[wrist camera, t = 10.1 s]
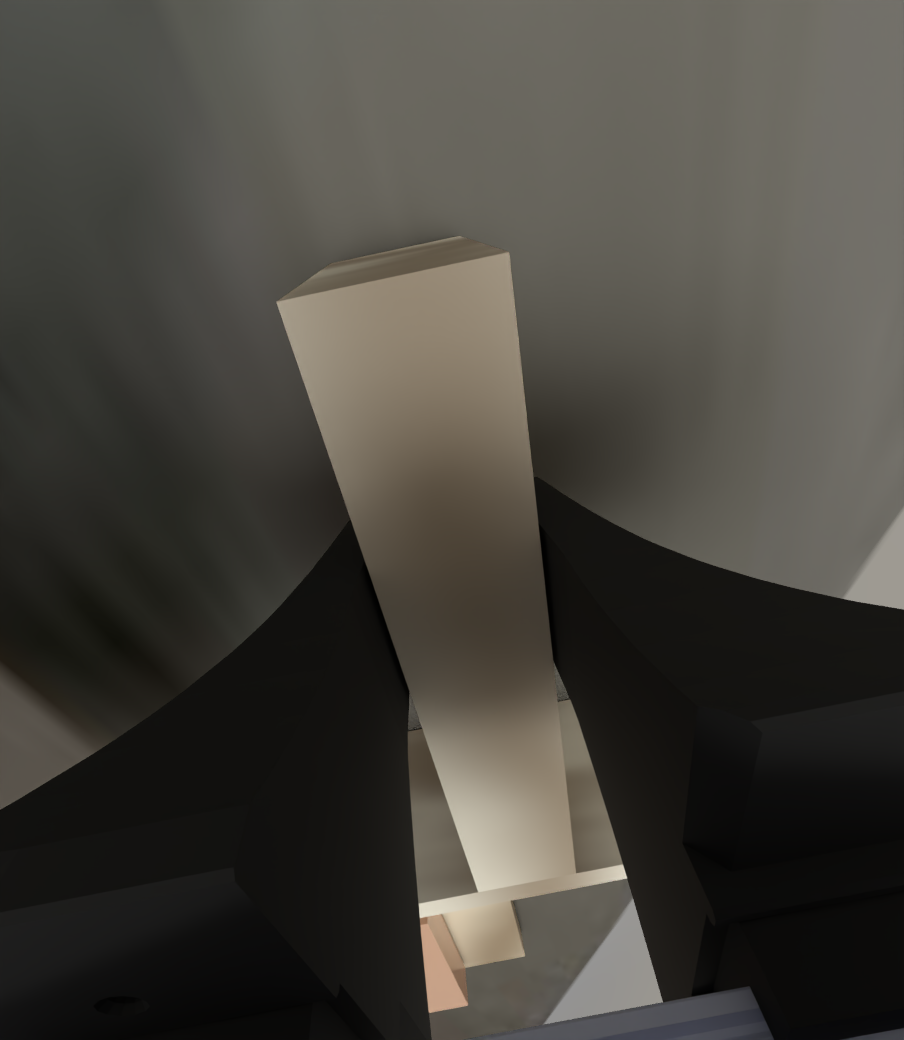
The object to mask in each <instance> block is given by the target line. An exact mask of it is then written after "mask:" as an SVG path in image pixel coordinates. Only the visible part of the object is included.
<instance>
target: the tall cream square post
mask: <svg viewBox="0 0 904 1040" xmlns="http://www.w3.org/2000/svg"><path fill="white" fill-rule="evenodd" d="M276 303H277V305H278V308H279V311H280V314H281V317H282V320H283V323H284V326H285V329H286V332H287V335H288V338H289V341H290V343H291V346H292V349H293V352H294V355H295V358H296V361H297V364H298V367H299V370H300V373H301V376H302V379H303V381H304V384H305V387H306V390H307V393H308V396H309V399H310V402H311V405H312V408H313V411H314V414H315V417H316V419H317V422H318V425H319V428H320V431H321V434H322V437H323V440H324V443H325V446H326V449H327V452H328V455H329V457H330V460H331V463H332V466H333V469H334V472H335V475H336V478H337V481H338V484H339V487H340V490H341V493H342V495H343V498H344V501H345V504H346V507H347V510H348V513H349V516H350V519H351V522H352V525H353V528H354V531H355V533H356V536H357V539H358V542H359V545H360V548H361V551H362V554H363V557H364V560H365V563H366V566H367V569H368V571H369V574H370V577H371V580H372V583H373V586H374V589H375V592H376V595H377V598H378V601H379V604H380V607H381V609H382V612H383V615H384V618H385V621H386V624H387V627H388V630H389V633H390V636H391V639H392V642H393V645H394V647H395V650H396V653H397V656H398V659H399V662H400V665H401V668H402V671H403V674H404V677H405V680H406V683H407V685H408V688H409V691H410V694H411V697H412V700H413V703H414V706H415V709H416V712H417V715H418V718H419V721H420V723H421V726H422V729H419V730H414V731H408V763H409V779H410V796H411V811H412V825H413V839H414V853H415V866H416V878H417V890H418V902H419V914H420V918H423V917H428V916H434V915H439V914H444V913H449V912H454V911H460V910H465V909H470V908H475V907H481V906H486V905H491V904H496V903H501V902H507V901H512V900H517V899H522V898H527V897H533V896H538V895H543V894H548V893H553V892H559V891H564V890H569V889H574V888H579V887H585V886H590V885H595V884H600V883H606V882H611V881H616V880H621V879H626V878H627V876H626V873H625V869H624V866H623V863H622V859H621V856H620V853H619V849H618V846H617V843H616V839H615V836H614V833H613V829H612V826H611V823H610V820H609V816H608V813H607V810H606V807H605V804H604V800H603V797H602V794H601V791H600V787H599V784H598V781H597V778H596V775H595V771H594V768H593V765H592V762H591V759H590V756H589V753H588V750H587V746H586V743H585V740H584V737H583V734H582V731H581V728H580V725H579V721H578V718H577V716H576V713H575V711H574V708H573V705H572V703H571V700H565V701H560V702H558V701H557V692H556V682H555V673H554V664H553V655H552V645H551V636H550V627H549V617H548V608H547V599H546V590H545V580H544V571H543V562H542V552H541V543H540V534H539V525H538V515H537V506H536V497H535V488H534V478H533V469H532V460H531V450H530V441H529V432H528V423H527V413H526V404H525V395H524V385H523V376H522V367H521V358H520V348H519V339H518V330H517V321H516V311H515V302H514V293H513V283H512V274H511V265H510V256H509V252H507V251H504V250H501V249H498V248H495V247H492V246H489V245H486V244H483V243H480V242H477V241H474V240H471V239H468V238H465V237H461V236H456V237H451V238H447V239H442V240H437V241H433V242H428V243H423V244H419V245H414V246H409V247H405V248H400V249H395V250H391V251H386V252H381V253H377V254H372V255H368V256H363V257H358V258H354V259H349V260H344V261H340V262H335V263H330V264H329V265H328V266H326V267H325V268H323V269H322V270H321V271H319V272H318V273H316V274H315V275H313V276H312V277H311V278H309V279H308V280H306V281H305V282H304V283H302V284H301V285H299V286H298V287H296V288H295V289H294V290H292V291H291V292H289V293H288V294H287V295H285V296H284V297H282V298H281V299H279V300H278V301H277V302H276Z"/></svg>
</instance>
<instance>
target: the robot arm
mask: <svg viewBox="0 0 904 1040" xmlns="http://www.w3.org/2000/svg"><path fill="white" fill-rule="evenodd" d="M534 488H535V497H536V506H537V515H538V525H539V534H540V543H541V552H542V562H543V571H544V580H545V590H546V599H547V608H548V617H549V627H550V636H551V645H552V655H553V661H554V663H555V665H556V668H557V670H558V672H559V675H560V677H561V679H562V681H563V684H564V686H565V688H566V691H567V693H568V695H569V698H570V700H571V703H572V705H573V708H574V711H575V713H576V716H577V718H578V721H579V725H580V728H581V731H582V734H583V737H584V740H585V743H586V746H587V750H588V753H589V756H590V759H591V762H592V765H593V768H594V771H595V775H596V778H597V781H598V784H599V787H600V791H601V794H602V797H603V800H604V804H605V807H606V810H607V813H608V816H609V820H610V823H611V826H612V829H613V833H614V836H615V839H616V843H617V846H618V849H619V853H620V856H621V859H622V863H623V866H624V869H625V873H626V876H627V879H628V883H629V886H630V889H631V893H632V896H633V899H634V903H635V906H636V910H637V913H638V917H639V920H640V924H641V927H642V930H643V934H644V937H645V941H646V944H647V948H648V951H649V955H650V958H651V961H652V965H653V968H654V972H655V975H656V979H657V982H658V986H659V989H660V993H661V996H662V1000H663V1003H658V1004H652V1005H647V1006H641V1007H636V1008H630V1009H625V1010H620V1011H615V1012H609V1013H604V1014H598V1015H593V1016H588V1017H582V1018H577V1019H572V1020H567V1021H561V1022H555V1023H550V1024H545V1025H539V1026H534V1027H529V1028H523V1029H518V1030H513V1031H507V1032H502V1033H497V1034H491V1035H486V1036H481V1037H475V1038H470V1039H465V1040H904V610H902V609H897V608H891V607H885V606H878V605H873V604H867V603H860V602H855V601H850V600H845V599H840V598H836V597H831V596H827V595H822V594H818V593H813V592H809V591H804V590H800V589H795V588H791V587H787V586H783V585H779V584H775V583H771V582H767V581H763V580H760V579H756V578H753V577H749V576H746V575H743V574H739V573H736V572H733V571H729V570H726V569H723V568H719V567H716V566H713V565H710V564H707V563H704V562H701V561H698V560H695V559H693V558H690V557H687V556H685V555H682V554H680V553H677V552H675V551H672V550H670V549H667V548H665V547H662V546H659V545H657V544H655V543H652V542H650V541H648V540H646V539H643V538H641V537H639V536H637V535H635V534H633V533H631V532H629V531H627V530H625V529H623V528H621V527H619V526H617V525H615V524H613V523H611V522H609V521H608V520H606V519H604V518H602V517H600V516H598V515H597V514H595V513H593V512H591V511H590V510H588V509H586V508H585V507H583V506H581V505H580V504H578V503H577V502H575V501H573V500H572V499H570V498H569V497H567V496H565V495H564V494H562V493H561V492H559V491H558V490H556V489H555V488H553V487H552V486H550V485H549V484H547V483H546V482H544V481H543V480H541V479H539V478H538V477H534ZM408 713H409V688H408V685H407V683H406V680H405V677H404V674H403V671H402V668H401V665H400V662H399V659H398V656H397V653H396V650H395V647H394V645H393V642H392V639H391V636H390V633H389V630H388V627H387V624H386V621H385V618H384V615H383V612H382V609H381V607H380V604H379V601H378V598H377V595H376V592H375V589H374V586H373V583H372V580H371V577H370V574H369V571H368V569H367V566H366V563H365V560H364V557H363V554H362V551H361V548H360V545H359V542H358V539H357V536H356V533H355V531H354V528H353V525H352V522H351V519H350V521H349V522H348V523H347V525H346V526H345V527H344V529H343V530H342V531H341V533H340V534H339V535H338V537H337V538H336V539H335V541H334V542H333V543H332V545H331V546H330V547H329V549H328V550H327V551H326V552H325V554H324V555H323V556H322V558H321V559H320V560H319V561H318V563H317V564H316V565H315V567H314V568H313V569H312V570H311V572H310V573H309V574H308V575H307V576H306V577H305V578H304V580H303V581H302V582H301V583H300V584H299V585H298V586H297V588H296V589H295V590H294V591H293V592H292V593H291V594H290V596H289V597H288V598H287V599H286V600H285V601H284V602H283V604H282V605H281V606H280V607H279V608H278V609H277V610H276V611H275V612H274V613H273V614H272V615H271V616H270V617H269V618H268V619H267V620H266V621H265V622H264V623H263V624H262V625H261V626H260V627H259V628H258V629H257V630H256V631H255V632H254V633H252V634H251V635H250V636H249V637H248V638H247V639H246V640H245V641H244V642H243V643H242V644H241V645H240V646H238V647H237V648H236V649H235V650H234V651H233V652H232V653H230V654H229V655H228V656H227V657H225V658H224V659H223V660H222V661H221V662H219V663H218V664H217V665H216V666H214V667H213V668H212V669H211V670H209V671H208V672H207V673H206V674H205V675H203V676H202V677H201V678H200V679H198V680H197V681H196V682H195V683H193V684H192V685H191V686H190V687H188V688H187V689H186V690H185V691H183V692H182V693H181V694H179V695H178V696H177V697H175V698H174V699H173V700H171V701H170V702H169V703H167V704H166V705H164V706H163V707H162V708H160V709H159V710H158V711H156V712H155V713H153V714H152V715H151V716H149V717H148V718H146V719H145V720H143V721H142V722H140V723H139V724H138V725H136V726H135V727H133V728H132V729H130V730H129V731H127V732H126V733H124V734H123V735H121V736H120V737H118V738H117V739H116V740H114V741H112V742H111V743H109V744H108V745H106V746H105V747H103V748H102V749H100V750H99V751H97V752H96V753H94V754H92V755H91V756H89V757H88V758H86V759H84V760H83V761H81V762H79V763H78V764H76V765H74V766H73V767H71V768H69V769H68V770H66V771H65V772H63V773H61V774H60V775H58V776H56V777H55V778H53V779H51V780H50V781H48V782H46V783H45V784H43V785H42V786H40V787H38V788H37V789H35V790H33V791H32V792H30V793H28V794H27V795H25V796H24V797H22V798H20V799H19V800H17V801H15V802H13V803H12V804H10V805H8V806H6V807H5V808H3V809H1V810H0V1040H432V1039H431V1029H430V1020H429V1010H428V1000H427V989H426V979H425V969H424V958H423V948H422V937H421V926H420V914H419V902H418V890H417V878H416V866H415V853H414V839H413V825H412V811H411V796H410V779H409V763H408Z"/></svg>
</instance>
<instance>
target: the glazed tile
mask: <svg viewBox="0 0 904 1040" xmlns="http://www.w3.org/2000/svg"><path fill="white" fill-rule="evenodd" d="M420 926H421V937H422V948H423V958H424V969H425V979H426V989H427V1000H428V1010H429V1013H431V1012H436V1011H441V1010H447V1009H452V1008H457V1007H462V1006H468V996H467V984H466V973H465V966H464V964H463V962H462V959H461V957H460V955H459V953H458V951H457V948H456V946H455V944H454V942H453V940H452V937H451V935H450V933H449V931H448V929H447V926H446V924H445V922H444V920H443V918H442V915H441V914H439V915H434V916H428V917H423V918H420Z"/></svg>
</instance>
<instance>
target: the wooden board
mask: <svg viewBox="0 0 904 1040" xmlns="http://www.w3.org/2000/svg"><path fill="white" fill-rule="evenodd" d="M441 915H442V918H443V920H444V922H445V924H446V926H447V929H448V931H449V933H450V935H451V937H452V940H453V942H454V944H455V946H456V948H457V951H458V953H459V955H460V957H461V959H462V962H463V964H464V966H465V968H466V967H471V966H477V965H482V964H487V963H492V962H498V961H503V960H508V959H513V958H519V957H524V956H525V952H524V946H523V940H522V934H521V930H520V926H519V922H518V918H517V915H516V911H515V907H514V903H513V900H512V901H507V902H501V903H496V904H491V905H486V906H481V907H475V908H470V909H465V910H460V911H454V912H449V913H444V914H441Z"/></svg>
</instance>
